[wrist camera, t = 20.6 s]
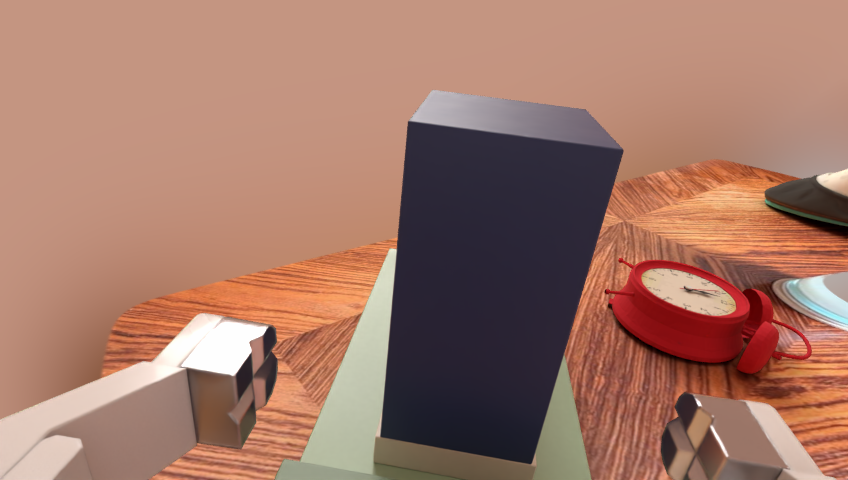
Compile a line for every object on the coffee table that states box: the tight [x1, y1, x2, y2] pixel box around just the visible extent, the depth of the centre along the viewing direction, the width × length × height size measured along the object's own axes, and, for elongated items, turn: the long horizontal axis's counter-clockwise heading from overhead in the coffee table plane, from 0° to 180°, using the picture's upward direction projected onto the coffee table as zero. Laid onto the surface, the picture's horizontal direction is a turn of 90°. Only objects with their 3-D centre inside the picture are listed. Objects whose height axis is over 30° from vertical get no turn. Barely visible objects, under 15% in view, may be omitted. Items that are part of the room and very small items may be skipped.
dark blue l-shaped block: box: [373, 90, 623, 480], centre depth 24 cm, size 16×6×14 cm, turn 173°
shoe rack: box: [274, 248, 592, 480], centre depth 28 cm, size 22×12×8 cm, turn 173°
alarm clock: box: [605, 258, 812, 374], centre depth 41 cm, size 10×6×15 cm
